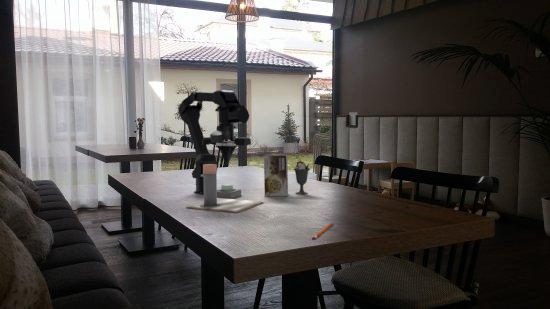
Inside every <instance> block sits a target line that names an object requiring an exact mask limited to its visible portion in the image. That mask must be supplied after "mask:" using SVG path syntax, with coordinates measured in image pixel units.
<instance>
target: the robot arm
mask: <svg viewBox="0 0 550 309" xmlns="http://www.w3.org/2000/svg"><path fill="white" fill-rule="evenodd" d="M235 93H236V92H235V91H234V90H224V89H223V90H222V89H220V90H215V91H213V92H203V91H199V90H198V91H191V92H190V94H189V95H188V96H187V97H186V98H184V99H183V100H182V101H181V103H180V105H179V106H178V108H177V110H178V114H179V117H180V119H181V121H183V122H184V123H185V124H186V126H187V129H188V131H189V136H190V138H191V141H192V144H193V147H194V152H195V154H196V157H195V161H194V164H195V166H194V169H193V170H192V172H191V176H192V179H195V190H194V191H193V193H194V194H195V193H196V194H204V174H203V165H204V164H217V169H218V168H219V167H218V161H217V159H216V155H215V153H211V152H210V151H209V149H208V146H209V145H215V146H214V147H215V148H218V150H219V151H220V153H221V155H222V158H223V161H224V163H225V164H226V165H228V164H229V163H230V160H231V158H232V156H233V153H234V151H235V150H236V148H237V147H239V146H250V145H252V140H251V138H250V137H245V136H243V137H236V136H235V131H234V130H235V129H236V125H234V124H246V123H247V122H248V121H249V120H250V113H249V111H248V110H249V109H247V108H246V105H245V104H241V103H240V101H239V99H238V97H237V95H236V94H235ZM194 102H197V103H194ZM203 102H210V103H211V102H212V103H214V104H215V105H218V106H217V107H216V108H215V112H218V125H217V126H216V130H214V131H213V132H211V133H210V134H209V137H205V136H204V134H203V131H202V128H201V123H200V117H201V110H202V109H203Z"/></svg>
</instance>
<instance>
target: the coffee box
mask: <svg viewBox="0 0 550 309" xmlns="http://www.w3.org/2000/svg"><path fill="white" fill-rule="evenodd" d="M288 166H289V165H288V154H287V153H280V154H279V153H275V154H272V153H271V154H270V153H269V154H264V155H263V169H264V170H263V173H264V175H263V179H264V180H263V181H264V183H263V184H264V185H263V186H264V194H263V195H264V197H287V196H288V195H289V181H288V180H289V178H288V177H289V173H288V172H289V171H288V170H289V169H288Z"/></svg>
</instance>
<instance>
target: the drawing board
mask: <svg viewBox="0 0 550 309" xmlns="http://www.w3.org/2000/svg"><path fill="white" fill-rule="evenodd" d="M261 204H264V201H261V200H249V199H246V200H245V199H235V198H232V199H225V198H217V206H213V207H206V206H204V201H201V202H200V201H199V202H198V203H193V204H190V205H187V206H185V208H186V209H191V210H201V211H210V212H211V211H212V212H222V213H230V214H231V213H233V214H238V213H241V212H243V211H247V210H250V209H251V208H254V207H257V206H259V205H261Z"/></svg>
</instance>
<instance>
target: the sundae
mask: <svg viewBox="0 0 550 309" xmlns="http://www.w3.org/2000/svg"><path fill="white" fill-rule="evenodd" d="M295 158H296V159H297V162H296V165H295V166H294V168H293V171H294V173H295V180H296V183H297V184H298V185H300V186H299V187H300V188H299V191H296V192H295V194H296V195H301V196H302V195H308V192H306V191H304V185H306V183H307V181H308V176H309V174H308V173H309V171H311V168H310V166H309V165H310V163H308V164H306V163H305V162H304V161H303V160H301V159H300V158H299V157H298V156H296V157H295Z"/></svg>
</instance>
